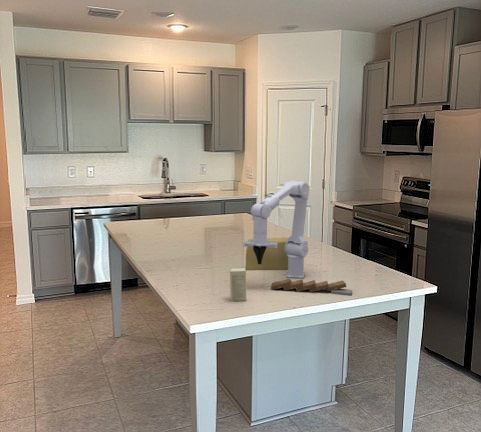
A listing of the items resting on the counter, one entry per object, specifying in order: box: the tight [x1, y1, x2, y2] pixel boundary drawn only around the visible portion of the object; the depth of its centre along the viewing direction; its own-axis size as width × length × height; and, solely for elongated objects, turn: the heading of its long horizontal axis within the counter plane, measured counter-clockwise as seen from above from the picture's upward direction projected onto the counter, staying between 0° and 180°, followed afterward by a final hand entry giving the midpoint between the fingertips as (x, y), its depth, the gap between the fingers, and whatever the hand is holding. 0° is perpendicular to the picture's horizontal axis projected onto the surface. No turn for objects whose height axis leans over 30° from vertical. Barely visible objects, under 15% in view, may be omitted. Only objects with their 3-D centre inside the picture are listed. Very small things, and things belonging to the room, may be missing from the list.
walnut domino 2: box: [282, 278, 304, 292], centre depth 204 cm, size 2×5×8 cm
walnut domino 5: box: [325, 280, 347, 292], centre depth 202 cm, size 2×5×8 cm
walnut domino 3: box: [295, 279, 316, 293], centre depth 203 cm, size 2×5×8 cm
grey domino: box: [330, 288, 353, 297], centre depth 200 cm, size 2×5×8 cm
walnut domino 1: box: [270, 278, 292, 291], centre depth 205 cm, size 2×5×8 cm
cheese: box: [245, 236, 289, 271], centre depth 235 cm, size 22×10×15 cm, turn 103°
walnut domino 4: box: [308, 280, 329, 293], centre depth 202 cm, size 2×5×8 cm
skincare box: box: [229, 267, 247, 302], centre depth 190 cm, size 6×4×12 cm
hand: (259, 263), depth 205 cm, fingers closed
